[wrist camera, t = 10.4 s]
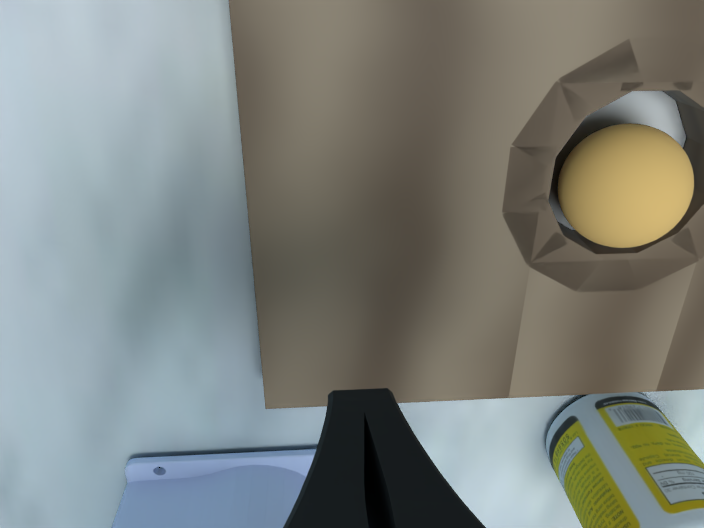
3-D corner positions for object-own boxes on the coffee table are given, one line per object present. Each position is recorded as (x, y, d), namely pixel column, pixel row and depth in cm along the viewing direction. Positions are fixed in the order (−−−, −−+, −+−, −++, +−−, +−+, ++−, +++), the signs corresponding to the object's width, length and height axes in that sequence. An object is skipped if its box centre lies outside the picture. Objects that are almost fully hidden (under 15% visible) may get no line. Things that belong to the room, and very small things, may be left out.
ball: (696, 220, 20) (586, 182, 22) (732, 119, 17) (602, 88, 19) (644, 291, 18) (531, 242, 20) (674, 192, 15) (539, 148, 18)
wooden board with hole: (268, 375, 24) (265, 408, 22) (224, -157, 15) (213, -173, 14) (675, 358, 25) (704, 389, 23) (840, -149, 16) (904, -163, 15)
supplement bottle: (570, 488, 28) (685, 720, 20) (523, 421, 26) (631, 650, 17) (674, 438, 27) (845, 661, 18) (635, 364, 25) (810, 579, 16)
